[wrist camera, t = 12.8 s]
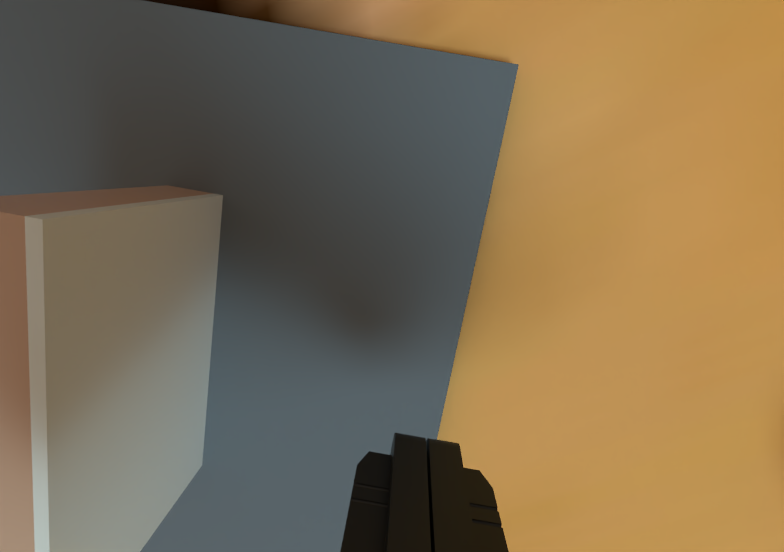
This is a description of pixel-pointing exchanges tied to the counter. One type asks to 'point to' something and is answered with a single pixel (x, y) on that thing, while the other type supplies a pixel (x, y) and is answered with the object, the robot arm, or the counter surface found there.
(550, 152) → the counter surface
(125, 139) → the mat
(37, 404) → the tile
